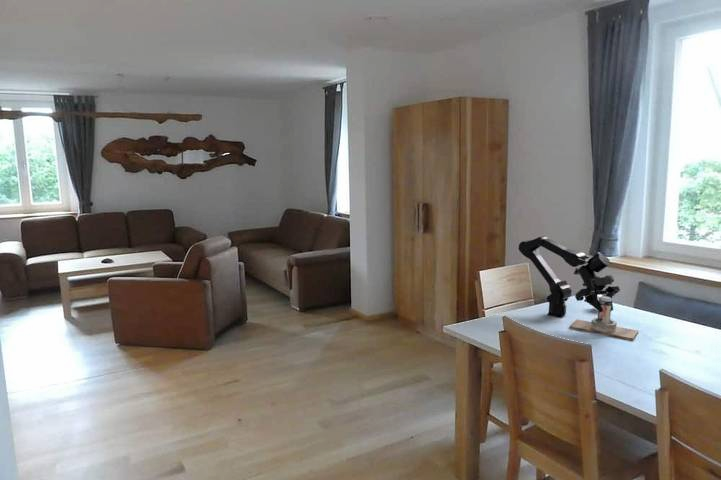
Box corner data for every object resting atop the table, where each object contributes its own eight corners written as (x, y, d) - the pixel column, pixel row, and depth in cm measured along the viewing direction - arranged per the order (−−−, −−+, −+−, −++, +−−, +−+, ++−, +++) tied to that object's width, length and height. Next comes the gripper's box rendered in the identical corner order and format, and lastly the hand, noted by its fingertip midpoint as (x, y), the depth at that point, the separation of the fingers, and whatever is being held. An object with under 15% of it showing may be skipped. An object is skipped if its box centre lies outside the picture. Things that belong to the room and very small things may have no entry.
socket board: (569, 328, 214) (569, 319, 214) (576, 321, 223) (577, 312, 222) (633, 340, 200) (633, 331, 199) (638, 332, 209) (639, 323, 208)
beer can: (594, 323, 213) (596, 295, 211) (605, 323, 214) (608, 295, 212) (600, 327, 209) (603, 299, 207) (612, 327, 209) (614, 298, 207)
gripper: (582, 270, 208) (600, 303, 200) (618, 266, 214) (637, 299, 205) (567, 283, 217) (584, 316, 208) (603, 280, 222) (620, 312, 214)
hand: (607, 311), depth 209 cm, fingers closed on beer can, 5 cm apart
